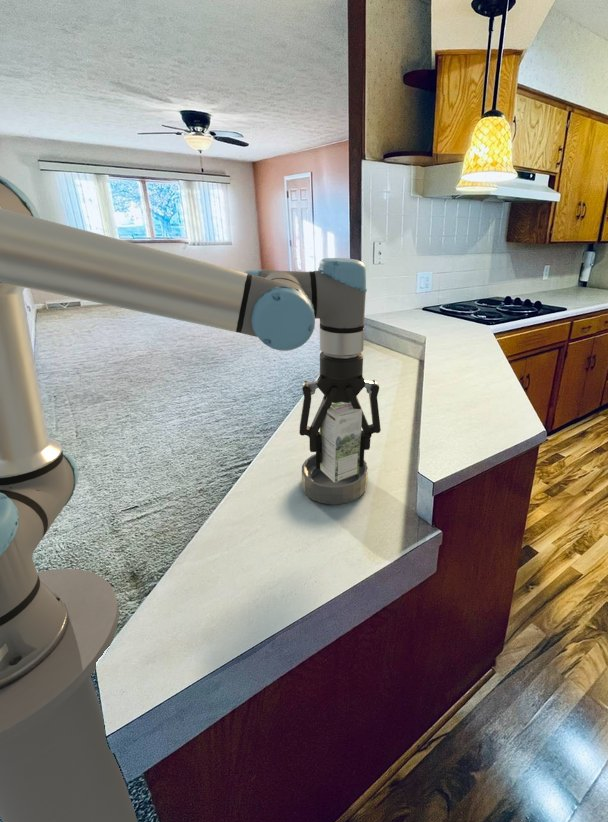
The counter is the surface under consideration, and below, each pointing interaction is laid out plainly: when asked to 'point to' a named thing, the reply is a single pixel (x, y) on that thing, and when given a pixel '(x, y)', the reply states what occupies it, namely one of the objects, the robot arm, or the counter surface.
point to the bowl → (332, 484)
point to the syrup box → (340, 441)
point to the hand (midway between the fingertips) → (339, 463)
